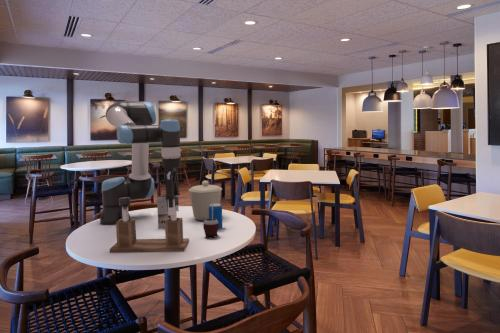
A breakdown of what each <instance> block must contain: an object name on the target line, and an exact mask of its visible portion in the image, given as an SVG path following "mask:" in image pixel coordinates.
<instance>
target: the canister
mask: <svg viewBox="0 0 500 333" xmlns="http://www.w3.org/2000/svg"><path fill="white" fill-rule="evenodd" d="M209 183H210V182H209V181H208V180H203V181H202V182H201V184H198V185H194V186H192V187H190V188H189V189H188V192H189V194H190V201H191V208H192V213H193V214H192V215H193V217H194V218H195V220H197V221H202V222H204V221H205V220H206V219H209V205H210V204H212V202H214V203H213V204H221V194H222V191H223V188H222V187H220V186H219V185H215V184H209Z"/></svg>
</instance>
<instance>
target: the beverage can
mask: <svg viewBox="0 0 500 333" xmlns="http://www.w3.org/2000/svg"><path fill="white" fill-rule="evenodd" d="M209 218H212V204H210V205H209ZM213 218H215V219H217V221H218V223H219V229H218V231H220V230H221V229H222V228H223V207H222V204H221V203H220V204H213Z"/></svg>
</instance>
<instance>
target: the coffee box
mask: <svg viewBox="0 0 500 333" xmlns="http://www.w3.org/2000/svg"><path fill="white" fill-rule="evenodd" d="M156 198H157V199H156V203H157V205H156V206H157V228H158V229H164V230H165V221H166V220H167V219H168V218H171V215H168V200H166V199H165V198H166V193H163V194H161V195H157V197H156Z"/></svg>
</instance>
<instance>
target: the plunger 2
mask: <svg viewBox="0 0 500 333" xmlns="http://www.w3.org/2000/svg"><path fill="white" fill-rule="evenodd" d="M177 196H178V195H177ZM177 196H174V199H175V215H171V221H177V218H178V216H177V215H178V214H177V212H178V211H176V205H178V206H179V196H178V197H177Z"/></svg>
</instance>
